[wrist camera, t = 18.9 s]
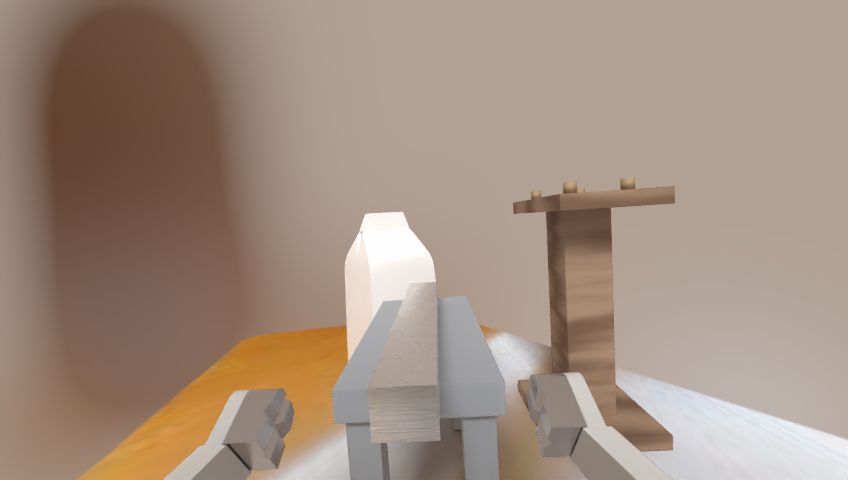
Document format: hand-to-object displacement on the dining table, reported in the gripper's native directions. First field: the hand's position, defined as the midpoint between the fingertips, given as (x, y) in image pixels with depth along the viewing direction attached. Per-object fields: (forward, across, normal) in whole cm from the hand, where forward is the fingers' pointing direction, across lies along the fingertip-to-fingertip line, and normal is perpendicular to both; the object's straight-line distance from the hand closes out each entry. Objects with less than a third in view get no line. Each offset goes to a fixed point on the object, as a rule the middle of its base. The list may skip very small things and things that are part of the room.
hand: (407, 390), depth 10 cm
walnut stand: (+14, -18, +30) cm, 37 cm away
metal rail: (+10, 0, +10) cm, 15 cm away
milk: (+25, +6, +36) cm, 44 cm away
